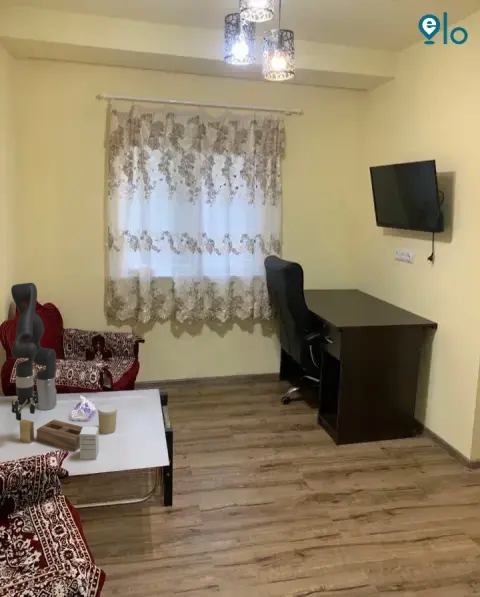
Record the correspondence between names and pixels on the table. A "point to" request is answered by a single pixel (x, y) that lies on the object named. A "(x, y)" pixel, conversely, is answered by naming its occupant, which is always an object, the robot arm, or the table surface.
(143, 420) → the table surface
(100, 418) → the coffee cup
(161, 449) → the table surface
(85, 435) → the miniature drawer cabinet
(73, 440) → the two-slot wooden tray
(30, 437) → the yellow tan block
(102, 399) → the table surface
